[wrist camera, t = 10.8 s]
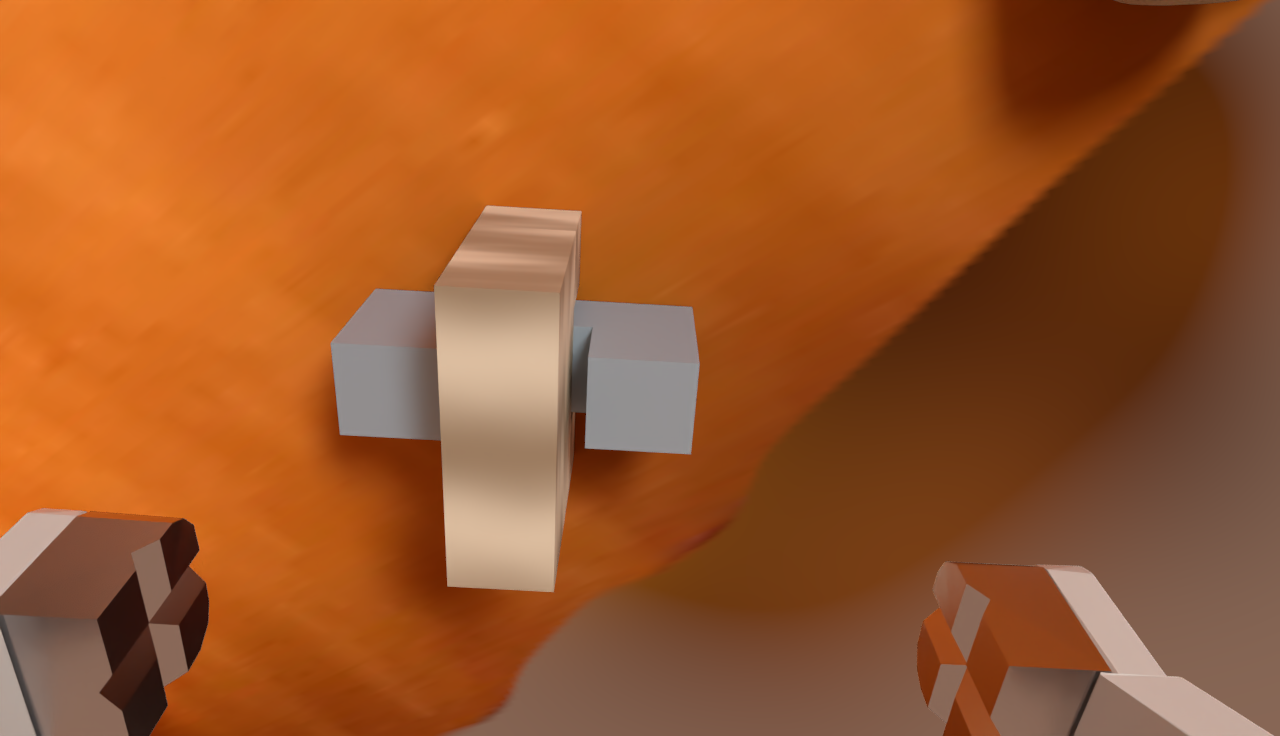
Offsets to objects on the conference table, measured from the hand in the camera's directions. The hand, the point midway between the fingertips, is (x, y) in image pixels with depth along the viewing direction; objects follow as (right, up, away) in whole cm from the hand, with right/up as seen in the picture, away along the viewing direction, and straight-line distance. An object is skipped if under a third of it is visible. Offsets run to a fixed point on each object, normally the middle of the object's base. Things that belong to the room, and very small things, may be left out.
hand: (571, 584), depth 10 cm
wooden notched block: (-4, +4, +30) cm, 30 cm away
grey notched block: (-4, +4, +30) cm, 30 cm away
